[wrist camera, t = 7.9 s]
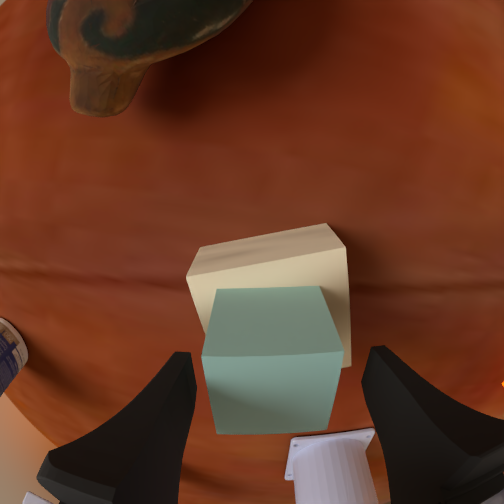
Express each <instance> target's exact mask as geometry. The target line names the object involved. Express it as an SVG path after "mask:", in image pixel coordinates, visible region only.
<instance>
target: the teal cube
mask: <svg viewBox="0 0 504 504" xmlns="http://www.w3.org/2000/svg"><path fill="white" fill-rule="evenodd" d="M201 357H202V363H203V368H204V373H205V379H206V384H207V389H208V394H209V399H210V404H211V408H212V413H213V418H214V422H215V427H216V431H217V434H280V433H296V432H308V431H319V430H327V426H328V422H329V419H330V415H331V411H332V407H333V403H334V398H335V394H336V390H337V385H338V381H339V376H340V371H341V367H342V362H343V357H344V348H343V345H342V343H341V340H340V337H339V335H338V332H337V330H336V327H335V324H334V322H333V319H332V317H331V314H330V312H329V309H328V307H327V304H326V302H325V299H324V297H323V294H322V292H321V289H320V287H319V286H299V287H270V288H230V289H217V290H216V294H215V298H214V303H213V307H212V311H211V316H210V320H209V324H208V329H207V333H206V338H205V342H204V347H203V351H202V356H201Z"/></svg>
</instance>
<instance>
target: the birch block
mask: <svg viewBox="0 0 504 504" xmlns="http://www.w3.org/2000/svg"><path fill="white" fill-rule="evenodd" d="M186 279H187V282H188V285H189V288H190V291H191V294H192V297H193V300H194V303H195V306H196V309H197V312H198V315H199V318H200V321H201V324H202V326H203V329H204V332H205V335H206V333H207V329H208V324H209V320H210V316H211V311H212V307H213V303H214V298H215V294H216V290H217V289H230V288H270V287H299V286H319V287H320V289H321V292H322V294H323V297H324V299H325V302H326V304H327V307H328V309H329V312H330V314H331V317H332V319H333V322H334V324H335V327H336V330H337V332H338V335H339V337H340V340H341V343H342V345H343V348H344V357H343V362H342V367H341V368H345V367H349V366H351V324H350V301H349V284H348V269H347V257H346V247H345V246H344V244H343V243H342V242H341V241H340V239H339V238H338V237H337V236H336V234H335V233H334V232H333V231H332V229H331V228H330V227H329V226H328V225H327V223H325V224H319V225H314V226H308V227H303V228H298V229H292V230H287V231H282V232H276V233H271V234H266V235H261V236H256V237H250V238H245V239H240V240H235V241H230V242H225V243H220V244H215V245H210V246H205V247H200V248H199V250H198V253H197V255H196V257H195V259H194V261H193V263H192V265H191V267H190V269H189V271H188V273H187V276H186Z"/></svg>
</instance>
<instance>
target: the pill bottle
mask: <svg viewBox="0 0 504 504" xmlns="http://www.w3.org/2000/svg"><path fill="white" fill-rule="evenodd" d="M27 360H28V351H27V348H26V345H25V343H24V341H23V339H22V337H21V336H20V334H19V333H18V332H17V330H16V329H15V328H14V327H13V326H12V325H11V324H10V323H9V322H7V321H6V320H4V319H3V318H0V397H1V395H2V394H3V392H4V391H5V390H6V388H7V387H8V386H9V384H10V383H11V382H12V380H13V379H14V378H15V377H16V375H17V374H18V373H19V371H20V370H21V369H22V367H23V366H24V365H25V363H26V362H27Z"/></svg>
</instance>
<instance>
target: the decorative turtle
mask: <svg viewBox="0 0 504 504" xmlns="http://www.w3.org/2000/svg"><path fill="white" fill-rule="evenodd" d="M252 1H253V0H48V4H47V10H46V26H47V30H48V35H49V38H50V40H51V43H52V45H53V47H54V49H55V51H56V52H57V53H58V54H59V55H60V56H61V57H62V58H63V59H65V60H66V61H67V63H68V65H69V66H70V70H71V83H70V98H69V99H70V104H71V107H72V109H73V110H74V111H76V112H77V113H81V114H85V115H88V116H95V117H109V116H114V115H117V114H119V113H121V112H123V111H124V110H126V108H127V107H128V106H129V104H130V103H131V101H132V99H133V98H134V96H135V94H136V92H137V90H138V87H139V85H140V83H141V81H142V79H143V77H144V75H145V73H146V71H147V69H148V68H149V66H150V65H151V64H153V63H156V62H159V61H162V60H165V59H167V58H170V57H173V56H176V55H179V54H181V53H184V52H186V51H189V50H191V49H192V48H194V47H196V46H198V45H200V44H202V43H204V42H206V41H207V40H209V39H211V38H214V37H216V36H217V35H219V34H220V33H221V32H222V31H223V30H225V29H226V28H228V27H229V26H230V25H231V24H232V23H233V22H234V21H235V20H236V19H237V18H238V17H239V16H240V15H241V14H242V13H243V12H244V11H245V10H246V9H247V8H248V6H249V5H250V4H251V2H252Z"/></svg>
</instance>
